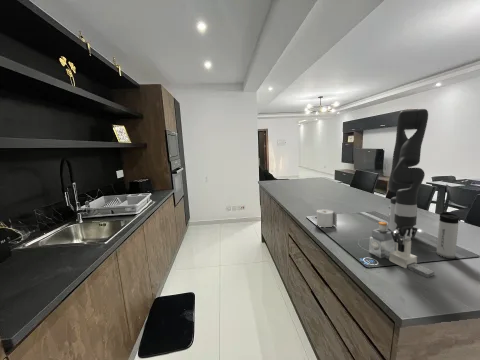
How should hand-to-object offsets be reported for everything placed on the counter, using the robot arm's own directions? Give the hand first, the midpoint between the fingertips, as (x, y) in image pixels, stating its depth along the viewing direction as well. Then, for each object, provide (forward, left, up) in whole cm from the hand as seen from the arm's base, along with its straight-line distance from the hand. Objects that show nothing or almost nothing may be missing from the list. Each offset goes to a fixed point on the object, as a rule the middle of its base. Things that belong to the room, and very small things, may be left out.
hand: (403, 250), depth 92 cm
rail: (+2, 0, -6) cm, 6 cm away
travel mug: (+3, +24, -6) cm, 25 cm away
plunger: (-10, 0, +5) cm, 11 cm away
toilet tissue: (-51, +2, -6) cm, 51 cm away
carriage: (0, 0, -6) cm, 6 cm away
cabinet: (-10, 0, -6) cm, 12 cm away
